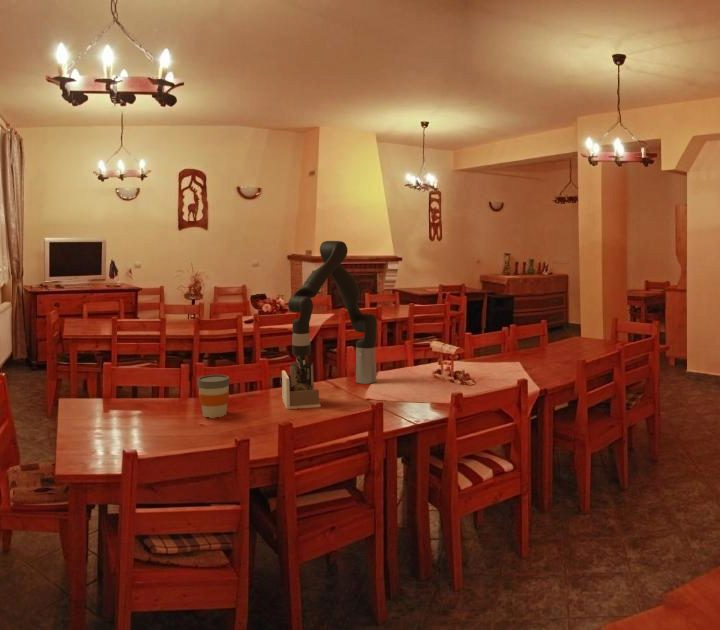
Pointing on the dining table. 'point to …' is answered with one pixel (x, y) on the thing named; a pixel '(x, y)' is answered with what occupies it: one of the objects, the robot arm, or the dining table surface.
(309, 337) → the robot arm
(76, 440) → the dining table surface
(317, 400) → the book rack
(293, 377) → the coffee box
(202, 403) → the reusable coffee cup
